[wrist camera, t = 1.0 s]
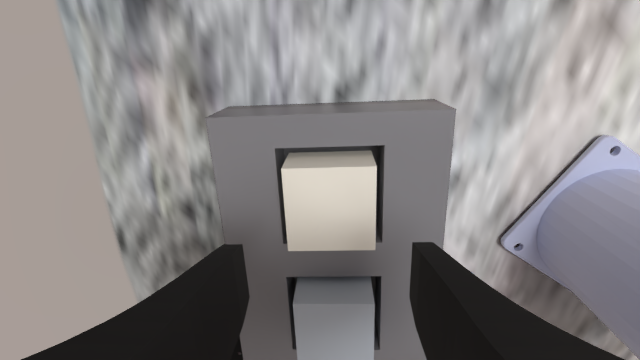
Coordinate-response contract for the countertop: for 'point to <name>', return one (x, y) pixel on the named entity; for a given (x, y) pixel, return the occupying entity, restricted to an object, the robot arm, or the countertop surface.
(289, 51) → the countertop surface
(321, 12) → the countertop surface
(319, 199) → the key cream
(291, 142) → the slotted grey tray
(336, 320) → the key slate
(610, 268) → the robot arm
